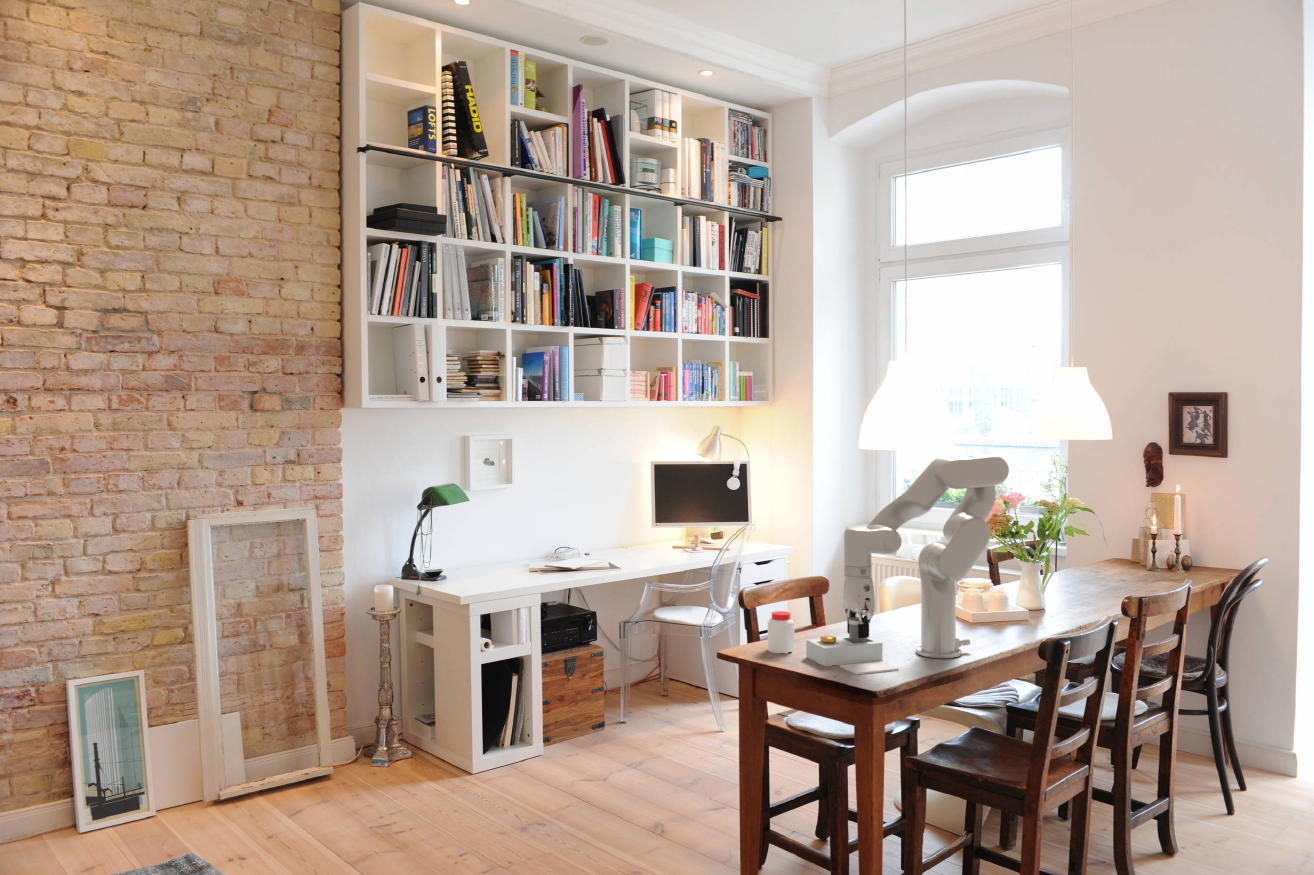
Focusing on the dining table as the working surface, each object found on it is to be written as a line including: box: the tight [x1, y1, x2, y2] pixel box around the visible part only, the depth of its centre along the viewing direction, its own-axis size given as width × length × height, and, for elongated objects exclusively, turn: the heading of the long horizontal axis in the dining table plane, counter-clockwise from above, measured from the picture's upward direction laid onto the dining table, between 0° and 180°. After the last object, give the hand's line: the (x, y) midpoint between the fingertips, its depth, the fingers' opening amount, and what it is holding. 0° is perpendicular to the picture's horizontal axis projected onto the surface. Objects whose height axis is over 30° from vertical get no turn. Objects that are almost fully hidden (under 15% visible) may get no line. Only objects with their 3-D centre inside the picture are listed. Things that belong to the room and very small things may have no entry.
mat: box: [839, 660, 899, 676], centre depth 275 cm, size 13×8×1 cm, turn 109°
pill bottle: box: [767, 610, 796, 654], centre depth 296 cm, size 8×8×11 cm
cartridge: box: [848, 616, 867, 643], centre depth 287 cm, size 5×5×11 cm
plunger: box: [819, 635, 837, 646], centre depth 284 cm, size 4×4×6 cm
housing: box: [805, 635, 883, 667], centre depth 286 cm, size 18×11×5 cm, turn 109°
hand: (858, 634), depth 287 cm, fingers closed on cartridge, 5 cm apart
